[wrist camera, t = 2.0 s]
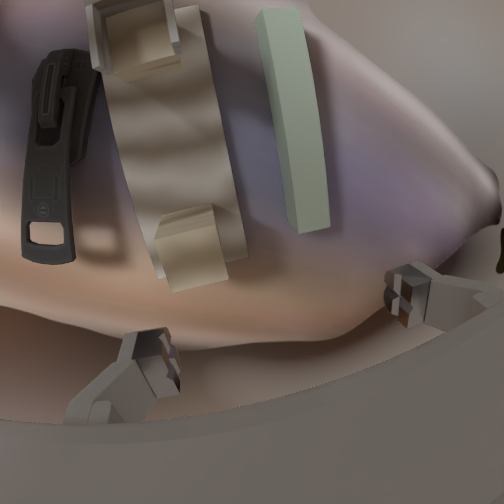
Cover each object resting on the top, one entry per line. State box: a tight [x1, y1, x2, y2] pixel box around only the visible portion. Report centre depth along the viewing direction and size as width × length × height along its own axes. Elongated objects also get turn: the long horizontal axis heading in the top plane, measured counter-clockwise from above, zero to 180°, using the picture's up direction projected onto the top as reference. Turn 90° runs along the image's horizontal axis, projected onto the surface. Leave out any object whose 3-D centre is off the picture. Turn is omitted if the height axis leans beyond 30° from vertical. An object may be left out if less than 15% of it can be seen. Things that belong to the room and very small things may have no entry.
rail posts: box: [85, 0, 249, 293], centre depth 25 cm, size 32×12×13 cm, turn 10°
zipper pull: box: [21, 49, 101, 265], centre depth 26 cm, size 9×7×25 cm
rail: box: [254, 8, 330, 234], centre depth 30 cm, size 26×4×5 cm, turn 10°
